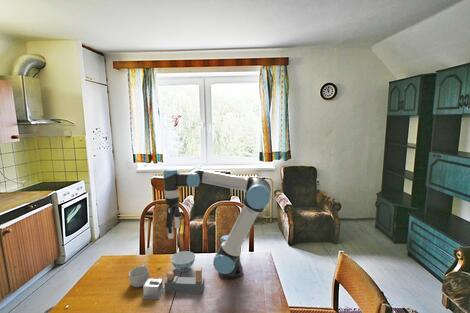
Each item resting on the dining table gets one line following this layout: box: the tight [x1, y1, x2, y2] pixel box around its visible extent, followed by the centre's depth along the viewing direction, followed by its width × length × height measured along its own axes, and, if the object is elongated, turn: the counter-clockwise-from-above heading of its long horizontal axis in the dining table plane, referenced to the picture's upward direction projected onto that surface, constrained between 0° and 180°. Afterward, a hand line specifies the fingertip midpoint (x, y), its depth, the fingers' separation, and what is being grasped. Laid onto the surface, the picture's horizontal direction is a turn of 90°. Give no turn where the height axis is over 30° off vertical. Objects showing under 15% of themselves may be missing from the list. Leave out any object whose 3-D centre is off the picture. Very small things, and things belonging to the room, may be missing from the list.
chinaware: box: [170, 250, 196, 272], centre depth 162 cm, size 15×15×8 cm
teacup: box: [128, 264, 150, 288], centre depth 148 cm, size 14×11×8 cm
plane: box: [164, 267, 205, 294], centre depth 142 cm, size 21×6×12 cm, turn 86°
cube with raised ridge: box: [142, 278, 164, 297], centre depth 139 cm, size 8×6×7 cm
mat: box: [141, 287, 165, 300], centre depth 139 cm, size 9×9×1 cm
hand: (174, 232), depth 146 cm, fingers open, 13 cm apart
